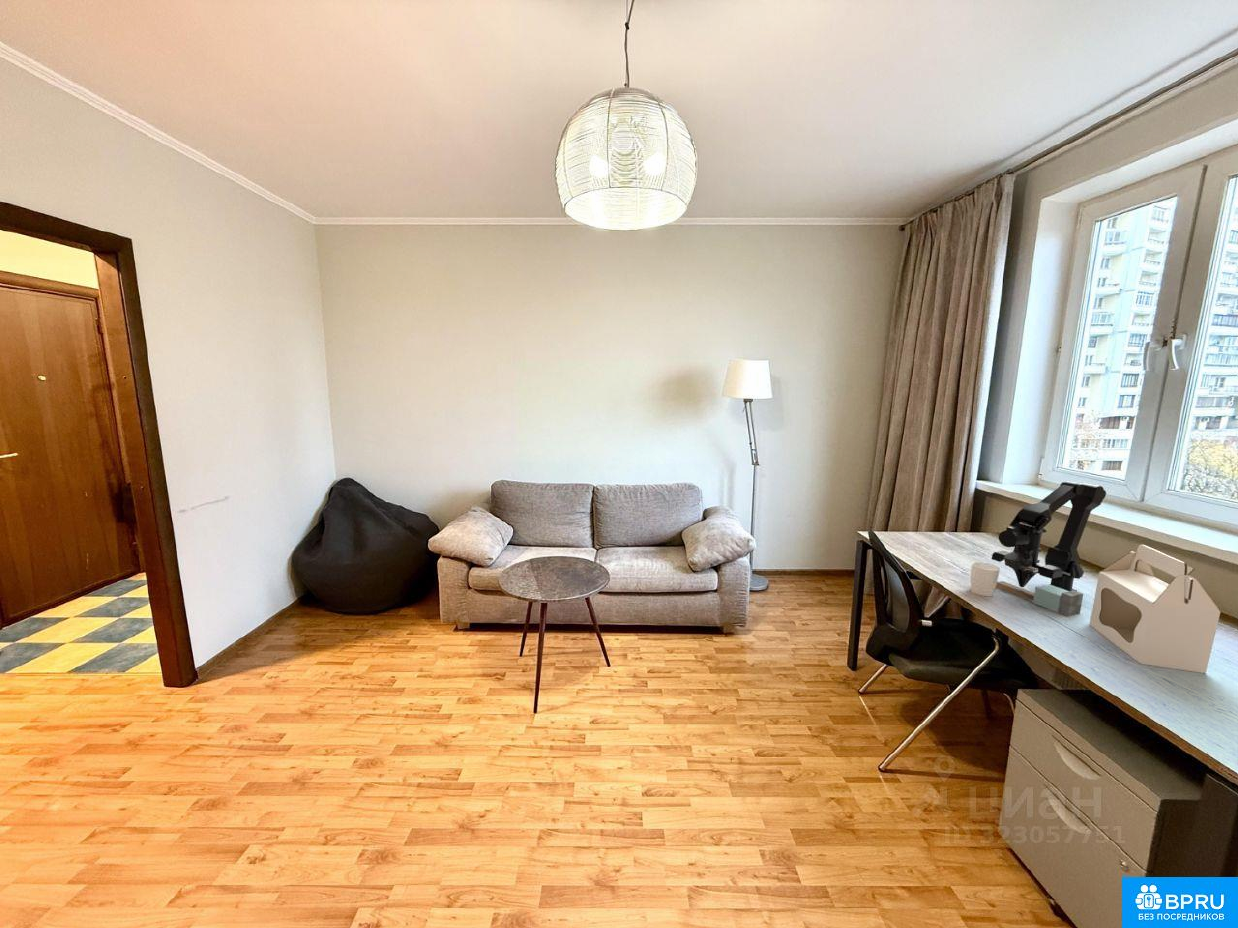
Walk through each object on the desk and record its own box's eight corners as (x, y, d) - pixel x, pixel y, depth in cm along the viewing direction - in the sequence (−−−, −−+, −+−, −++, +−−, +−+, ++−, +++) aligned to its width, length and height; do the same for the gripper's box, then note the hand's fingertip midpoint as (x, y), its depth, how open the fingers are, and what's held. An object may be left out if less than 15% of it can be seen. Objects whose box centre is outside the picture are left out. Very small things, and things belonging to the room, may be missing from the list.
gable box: (1207, 674, 120) (1232, 571, 115) (1140, 664, 124) (1161, 564, 119) (1143, 631, 140) (1162, 542, 136) (1088, 624, 145) (1104, 538, 140)
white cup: (1000, 598, 162) (1005, 571, 160) (975, 596, 163) (979, 569, 162) (988, 588, 170) (991, 562, 168) (963, 586, 171) (967, 560, 169)
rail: (1004, 585, 172) (1007, 567, 171) (1079, 613, 151) (1083, 593, 150) (993, 587, 170) (995, 569, 169) (1067, 616, 149) (1071, 596, 148)
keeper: (1046, 599, 160) (1049, 584, 159) (1071, 609, 154) (1074, 593, 153) (1032, 602, 158) (1035, 586, 157) (1057, 612, 151) (1060, 595, 150)
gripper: (984, 538, 167) (978, 579, 170) (1045, 556, 150) (1037, 601, 153) (1005, 535, 171) (998, 575, 174) (1067, 552, 154) (1059, 596, 156)
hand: (1021, 586), depth 164 cm, fingers closed
